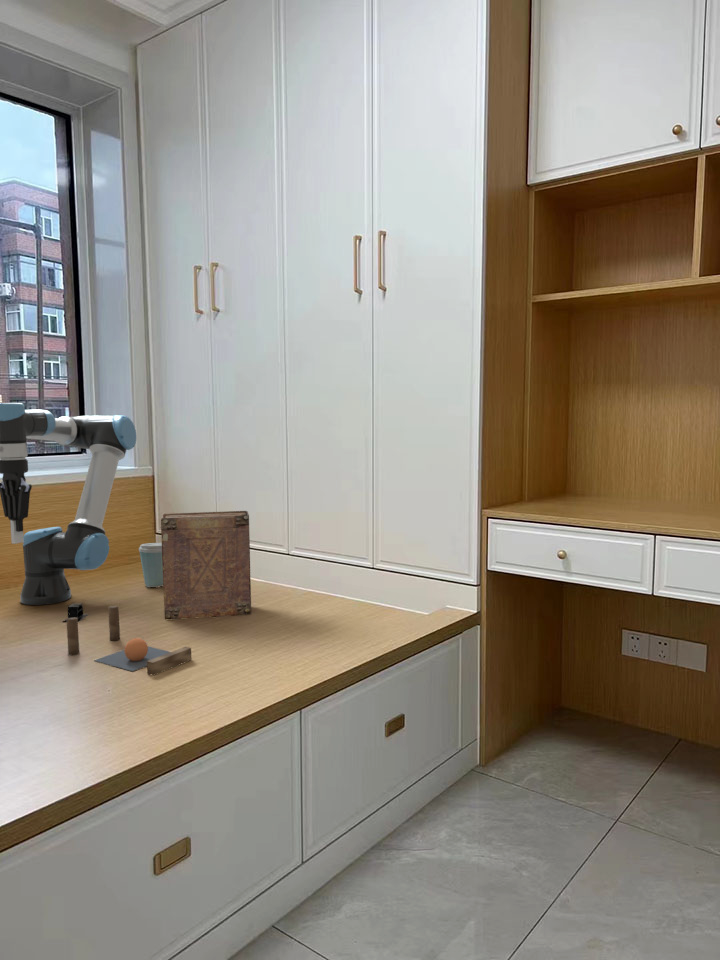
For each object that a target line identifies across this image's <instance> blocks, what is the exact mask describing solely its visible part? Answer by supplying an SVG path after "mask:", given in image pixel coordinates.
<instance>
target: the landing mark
mask: <svg viewBox="0 0 720 960" xmlns="http://www.w3.org/2000/svg"><path fill="white" fill-rule="evenodd" d="M147 646H148V645H147ZM124 650H125V649H122V650H120V651H117V652H113V653H111V654H108V655H105V656H101V657H99V658H97V659H94V660H93V661H94V662H96V663H100V662H101V663H100V664H103V663H104V664H103V665H107V664H108V666H110V665H111V667H114V666H115V667H114V668H117V667H118V669H121V668H122V669H121V670H124V669H125V671H128V670H129V671H128V672H131V671H133V672H136V671H138V670H140V668H141V669H143V667H144V668H147V661H149V660H151V659H154V658H157V657H159V656H162V655H165V654H167V653H170V652H171V651H169V650H164V649H161V648H156V647H152V646H148V652H147V655H146V656H145V657H144V658H143V659H142V660H140V661H131V660H129V659H128V658H127V657H126V655H125V652H124ZM137 669H138V670H137ZM135 670H136V671H135Z"/></svg>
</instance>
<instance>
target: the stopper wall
mask: <svg viewBox="0 0 720 960" xmlns="http://www.w3.org/2000/svg"><path fill="white" fill-rule="evenodd" d="M169 652H170V653H167V654H165V655H162V656H159V657H157V658H154V659H151V660H149V661H147V666H146V668H147V669H146V670H147V673H148V674H147V675H150V674H152V675H151V676H155V675H157V673H158V674H160V673H162V671H163V672H164V670H165V671H168V670H169V668H170V669H172V668H171V667H173V668H175V667H177V665H178V666H180V665H182V664H181V663H183V664H185V663H188V662H189V661H188V660H190V661H192V660H191V659H192V648H191V647H189V646H183V647H180V648H178V649H175V650H173V651H169ZM187 661H188V662H187ZM184 662H185V663H184ZM179 664H180V665H179ZM174 666H175V667H174ZM167 669H168V670H167ZM154 674H155V675H154Z"/></svg>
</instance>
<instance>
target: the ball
mask: <svg viewBox="0 0 720 960" xmlns="http://www.w3.org/2000/svg"><path fill="white" fill-rule="evenodd" d="M123 650H124V652H125V655H126V657H127V658H128V659H129V660H131V661H140V660H142V659H143V658H144V657H145V656H146V655H147V652H148V643H147V642H146V641H145V640H143V639H142V638H140V637H135V638H131V639H130V640H128V641H127V643H126V644H125V646H124V649H123Z"/></svg>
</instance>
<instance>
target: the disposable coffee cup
mask: <svg viewBox="0 0 720 960" xmlns="http://www.w3.org/2000/svg"><path fill="white" fill-rule="evenodd" d="M138 551H139V558H140V562H141V568H142V574H143V581H144V585H145V587H147V588H150V587H156V588H159V587H158V586H162V585H163V562H162V542H151V543H149V542H148V543H142V544H140V546H139V547H138ZM162 587H163V586H162Z"/></svg>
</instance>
